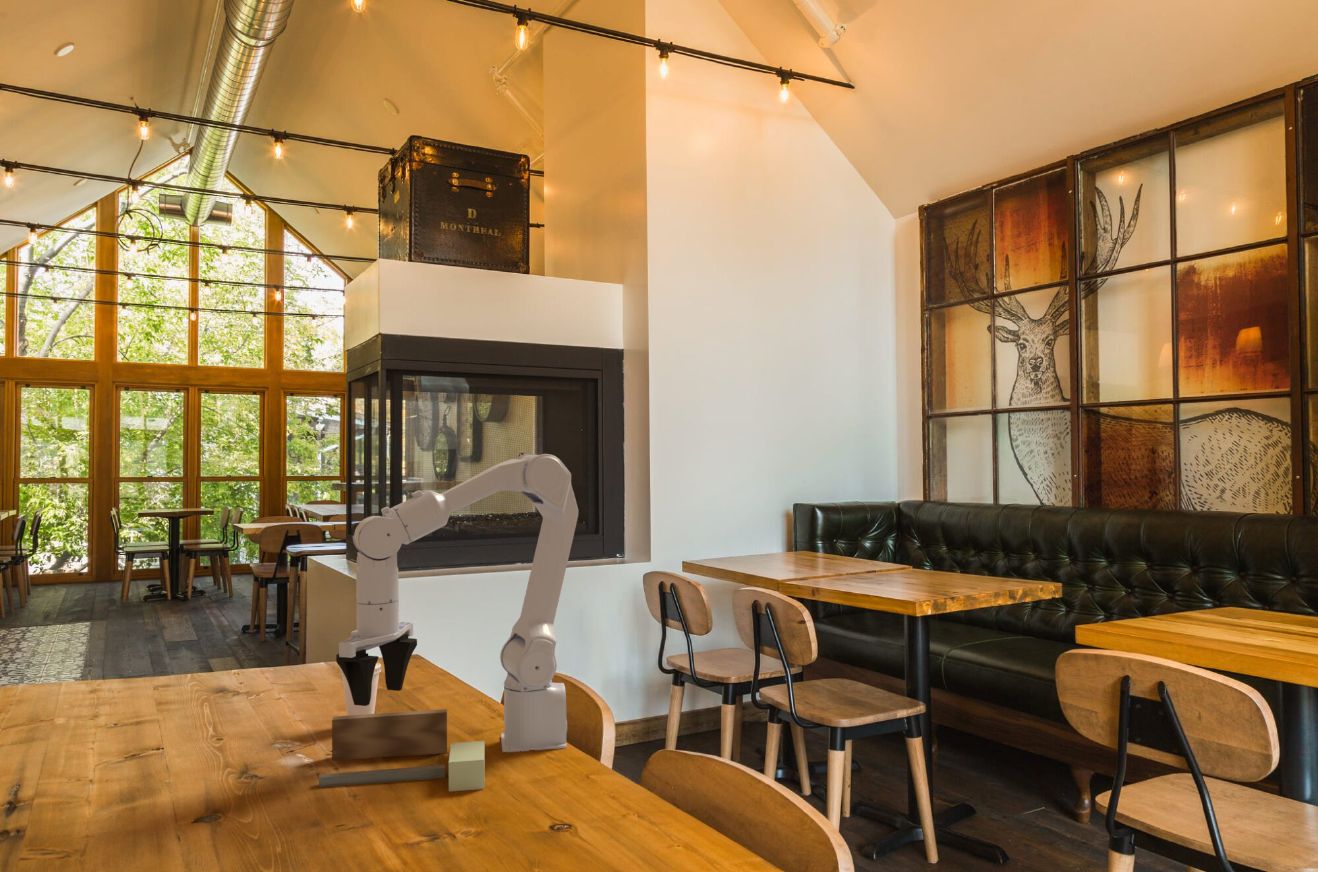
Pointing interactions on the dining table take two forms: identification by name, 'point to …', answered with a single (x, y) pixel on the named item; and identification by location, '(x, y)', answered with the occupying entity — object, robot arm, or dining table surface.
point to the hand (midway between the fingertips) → (378, 697)
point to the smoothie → (350, 705)
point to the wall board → (389, 734)
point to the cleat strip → (382, 776)
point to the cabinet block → (467, 766)
